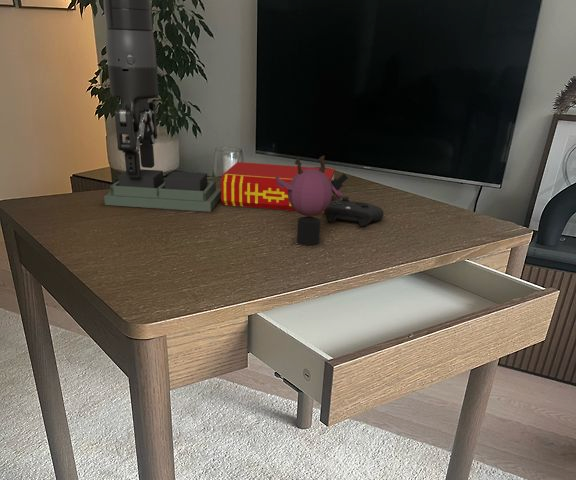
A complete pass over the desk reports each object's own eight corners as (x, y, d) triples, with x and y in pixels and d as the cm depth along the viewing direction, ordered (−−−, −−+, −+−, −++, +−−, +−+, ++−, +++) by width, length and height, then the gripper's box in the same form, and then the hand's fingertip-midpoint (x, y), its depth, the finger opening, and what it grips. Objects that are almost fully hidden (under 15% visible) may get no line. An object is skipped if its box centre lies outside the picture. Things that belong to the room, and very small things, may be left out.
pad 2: (165, 196, 101) (164, 178, 100) (174, 188, 106) (173, 171, 105) (200, 199, 101) (199, 180, 99) (207, 190, 106) (207, 173, 104)
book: (221, 206, 103) (220, 175, 101) (237, 189, 114) (237, 162, 111) (326, 214, 101) (328, 184, 99) (332, 196, 112) (334, 169, 110)
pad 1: (119, 193, 101) (117, 175, 100) (130, 186, 107) (129, 168, 105) (154, 196, 101) (153, 177, 100) (164, 188, 106) (163, 170, 105)
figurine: (343, 239, 89) (350, 154, 83) (323, 254, 83) (330, 164, 77) (294, 231, 92) (298, 148, 86) (271, 244, 86) (273, 156, 80)
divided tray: (104, 205, 101) (102, 186, 99) (124, 191, 109) (122, 174, 108) (210, 211, 100) (210, 193, 98) (221, 197, 108) (221, 180, 107)
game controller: (385, 213, 99) (382, 192, 94) (377, 242, 98) (373, 222, 93) (330, 206, 102) (324, 185, 97) (321, 233, 101) (315, 214, 96)
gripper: (123, 60, 100) (132, 163, 109) (92, 64, 88) (104, 179, 96) (167, 62, 100) (173, 165, 108) (142, 66, 88) (150, 182, 96)
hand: (141, 171), depth 102 cm, fingers open, 7 cm apart
